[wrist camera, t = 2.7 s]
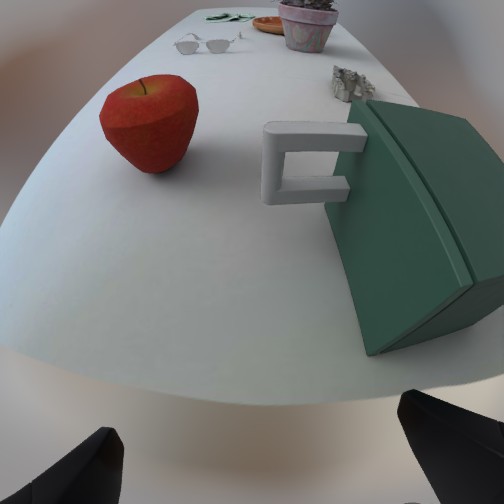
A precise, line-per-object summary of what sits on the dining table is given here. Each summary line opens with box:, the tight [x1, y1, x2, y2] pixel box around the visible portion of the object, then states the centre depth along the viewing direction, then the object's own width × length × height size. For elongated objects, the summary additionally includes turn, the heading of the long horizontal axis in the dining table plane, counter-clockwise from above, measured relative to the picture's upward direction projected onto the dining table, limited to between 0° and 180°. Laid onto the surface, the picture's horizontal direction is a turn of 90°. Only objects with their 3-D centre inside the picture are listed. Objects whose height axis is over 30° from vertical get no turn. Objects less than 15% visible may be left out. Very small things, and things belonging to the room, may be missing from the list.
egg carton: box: [332, 65, 375, 104], centre depth 45 cm, size 11×8×4 cm
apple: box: [99, 75, 199, 173], centre depth 28 cm, size 11×11×12 cm
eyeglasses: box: [173, 32, 241, 54], centre depth 61 cm, size 15×18×4 cm
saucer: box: [253, 17, 284, 34], centre depth 74 cm, size 23×23×4 cm
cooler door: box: [260, 100, 473, 356], centre depth 20 cm, size 8×16×13 cm, turn 6°
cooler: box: [366, 99, 504, 354], centre depth 21 cm, size 12×16×13 cm
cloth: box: [204, 13, 255, 23], centre depth 87 cm, size 20×22×2 cm
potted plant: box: [278, 0, 339, 53], centre depth 52 cm, size 18×20×25 cm
